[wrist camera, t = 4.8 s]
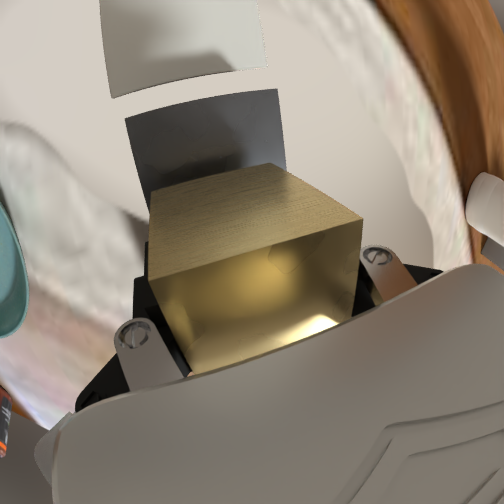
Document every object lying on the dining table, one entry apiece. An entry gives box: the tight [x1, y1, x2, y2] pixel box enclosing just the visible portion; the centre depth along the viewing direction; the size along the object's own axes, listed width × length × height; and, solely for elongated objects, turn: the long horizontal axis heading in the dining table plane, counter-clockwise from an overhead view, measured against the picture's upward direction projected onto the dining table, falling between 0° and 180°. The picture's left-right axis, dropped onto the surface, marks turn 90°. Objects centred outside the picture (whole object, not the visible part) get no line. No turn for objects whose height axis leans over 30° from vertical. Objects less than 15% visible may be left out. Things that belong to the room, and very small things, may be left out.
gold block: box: [148, 162, 363, 375], centre depth 10 cm, size 6×5×6 cm
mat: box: [100, 0, 268, 98], centre depth 10 cm, size 9×9×1 cm
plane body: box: [125, 89, 287, 214], centre depth 16 cm, size 13×7×4 cm, turn 8°
